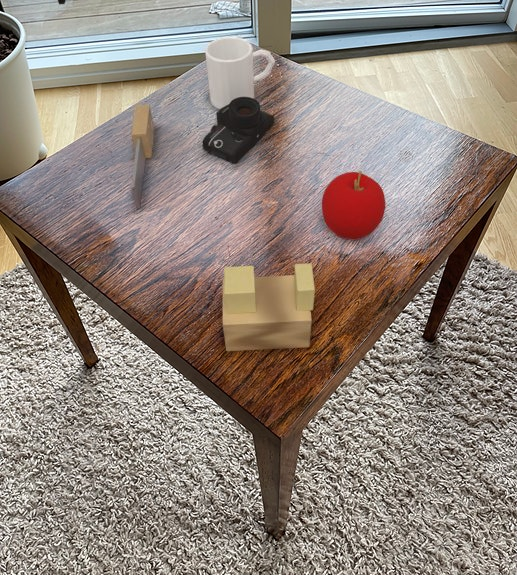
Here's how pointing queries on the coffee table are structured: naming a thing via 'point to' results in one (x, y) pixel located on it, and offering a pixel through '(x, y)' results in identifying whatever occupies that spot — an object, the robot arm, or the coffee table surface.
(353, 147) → the coffee table surface
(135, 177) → the knife
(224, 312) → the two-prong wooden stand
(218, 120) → the film camera
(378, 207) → the fruit
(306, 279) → the butter slice
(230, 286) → the butter block
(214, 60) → the mug
